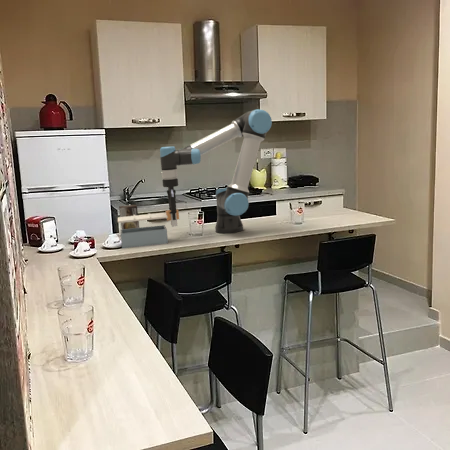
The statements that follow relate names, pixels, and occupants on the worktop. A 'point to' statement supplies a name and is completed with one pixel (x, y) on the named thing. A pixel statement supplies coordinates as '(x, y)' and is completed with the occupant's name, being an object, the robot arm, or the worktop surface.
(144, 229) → the tub
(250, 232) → the worktop surface
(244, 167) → the robot arm
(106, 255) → the worktop surface
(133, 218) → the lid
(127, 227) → the coffee box
